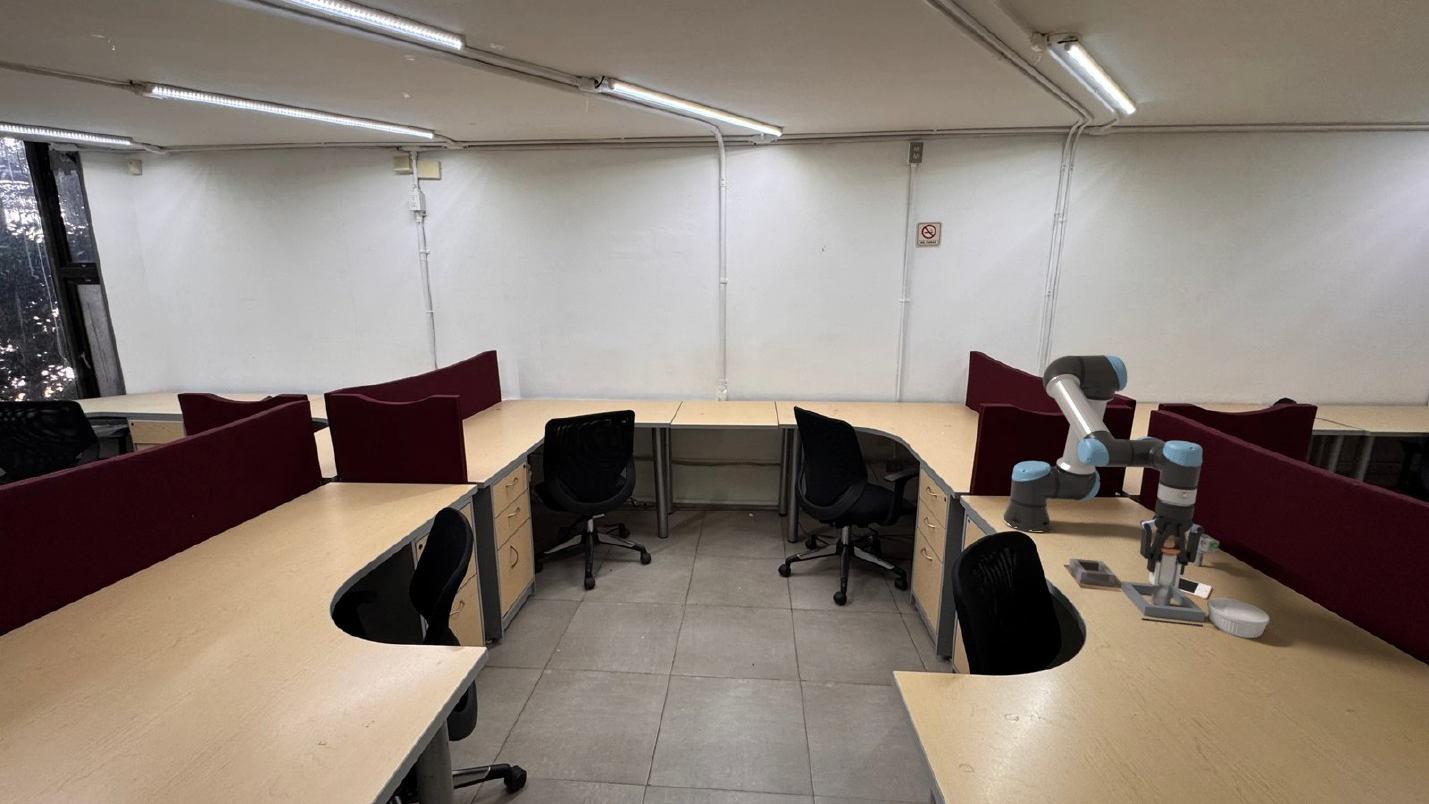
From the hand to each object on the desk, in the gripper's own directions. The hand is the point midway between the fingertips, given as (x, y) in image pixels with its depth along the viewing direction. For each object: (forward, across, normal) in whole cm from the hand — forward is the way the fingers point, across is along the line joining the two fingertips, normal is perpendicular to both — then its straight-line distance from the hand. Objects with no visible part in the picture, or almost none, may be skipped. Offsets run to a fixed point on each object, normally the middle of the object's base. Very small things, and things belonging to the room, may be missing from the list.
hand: (1163, 583), depth 144 cm
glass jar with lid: (+5, 0, 0) cm, 5 cm away
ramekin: (+8, +14, -5) cm, 17 cm away
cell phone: (+8, +10, +17) cm, 21 cm away
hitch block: (+8, -12, +12) cm, 19 cm away
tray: (+8, 0, 0) cm, 8 cm away
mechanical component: (+8, +24, +30) cm, 39 cm away
